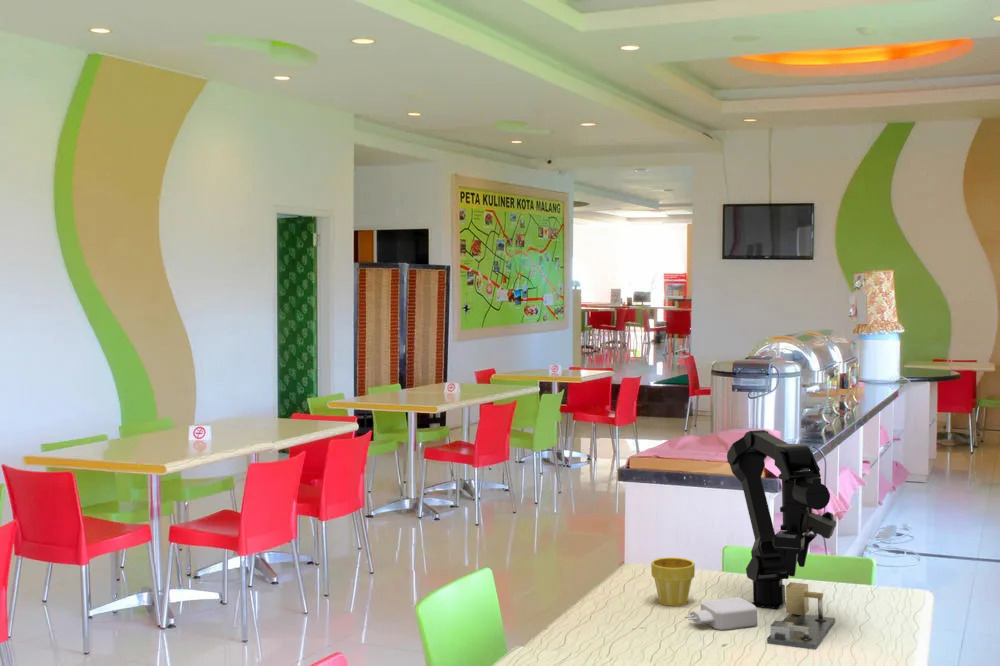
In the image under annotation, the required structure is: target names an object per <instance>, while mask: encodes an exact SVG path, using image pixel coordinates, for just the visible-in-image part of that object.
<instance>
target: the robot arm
mask: <svg viewBox="0 0 1000 666" xmlns="http://www.w3.org/2000/svg"><path fill="white" fill-rule="evenodd" d="M767 457H769V458H770V459H771V460H772V459H773V461H774V466H775V468H777V469H778V470H779V472H780V474H779V475H778V477H777V478H778V479H779V480H781V499H782V501H781V506H780V507H779V512H780V513H782V524H781V525H780V530H779V531H778V532H777V533H776V532H775V528H774V525H773V521H772V516H771V512H770V508H769V504H768V501H767V500H768V499H767V496H766V492H765V488H764V483H763V480H762V479H763V478H762V476H763V472H764V470H765V466H766V463H765V460H766V459H767ZM726 460H727V462H728V465H729V467H730V471H731V472H732V474H733V476H735V477H736V479H738V480H739V481H740V483H741V486H742V487H741V488H742V489H743V495H744V499H745V503H746V507H747V511H748V512H747V513H748V515H749V519H750V523H751V528H752V533H753V537H754V542H753V545H752V548H751V551H750V555H751V558H750V561H749V562H748V564H747V566H746V568H745V571H746V577H747V578H748V579H749V580H751V581H752V587H753V588H752V589H753V590H752V591H753V592H752V593H753V601H752V603H751V602H750V603H751V604H753V605H755V606H756V607H761V608H769V609H770V608H771V609H780V608H781V607H782V606H783V605H784V604H785V603H786V586H785V584H783V580H789V577H795V576H796V570H797V564H798V567H800V568H804V567H805V565H806V562H807V557H808V552H809V549H810V544H811V542H812V541H813V540H814V539H816V538H817V536H818V535H819V536H821V537H822V538H823V539H831V537H833V534H834V530H835V529H836V527H837V520H836V519H834V518H835V517H834V513H832V512H830V511H825V512H824V513H823V514H822V515H821V514H820V513H818V514H817V513H815V512H813V510H816V511H819V510H823V509H824V508H826V506H828V504H829V502H830V500H831V493H830V490H829V488H828V487H827V486H826V485H825V484H823V483H822V479H821V476H822V475H821V473H820V471H821V469H820V467H819V465H818V463H817V461H816V459H815V456H814V454H813V451H812V450H811V448H810V447H809V446H808V445H805V444H801V443H800V444H798V443H788V442H786V441H784V440H782V439H781V438H778V437H776V436H774V435H772V434H770V433H769V431H768V430H765V429H758V430H757V429H756V430H748V431H747V432H745V433H744V435H743V437H740V438H739V439H737V440H736V441H735V442H733V443H732V444H731V446H730V447H729V449H728V451H727V453H726Z"/></svg>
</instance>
